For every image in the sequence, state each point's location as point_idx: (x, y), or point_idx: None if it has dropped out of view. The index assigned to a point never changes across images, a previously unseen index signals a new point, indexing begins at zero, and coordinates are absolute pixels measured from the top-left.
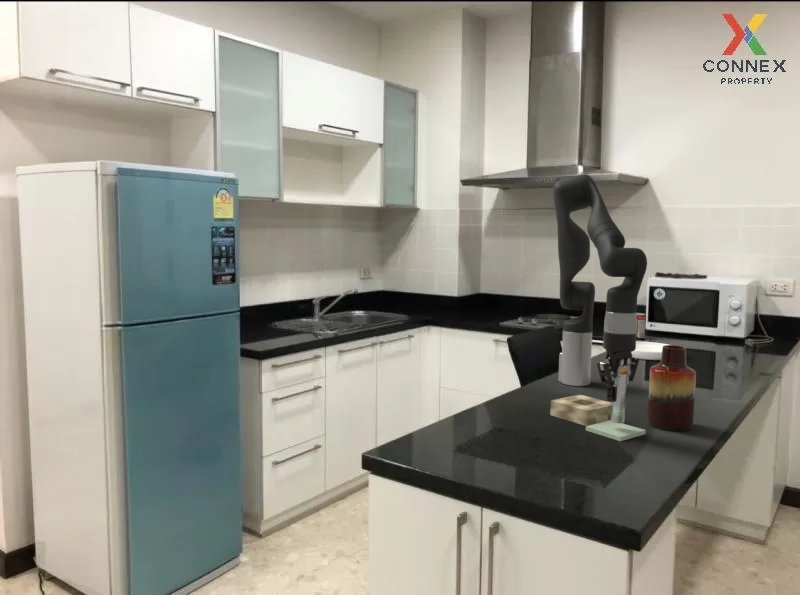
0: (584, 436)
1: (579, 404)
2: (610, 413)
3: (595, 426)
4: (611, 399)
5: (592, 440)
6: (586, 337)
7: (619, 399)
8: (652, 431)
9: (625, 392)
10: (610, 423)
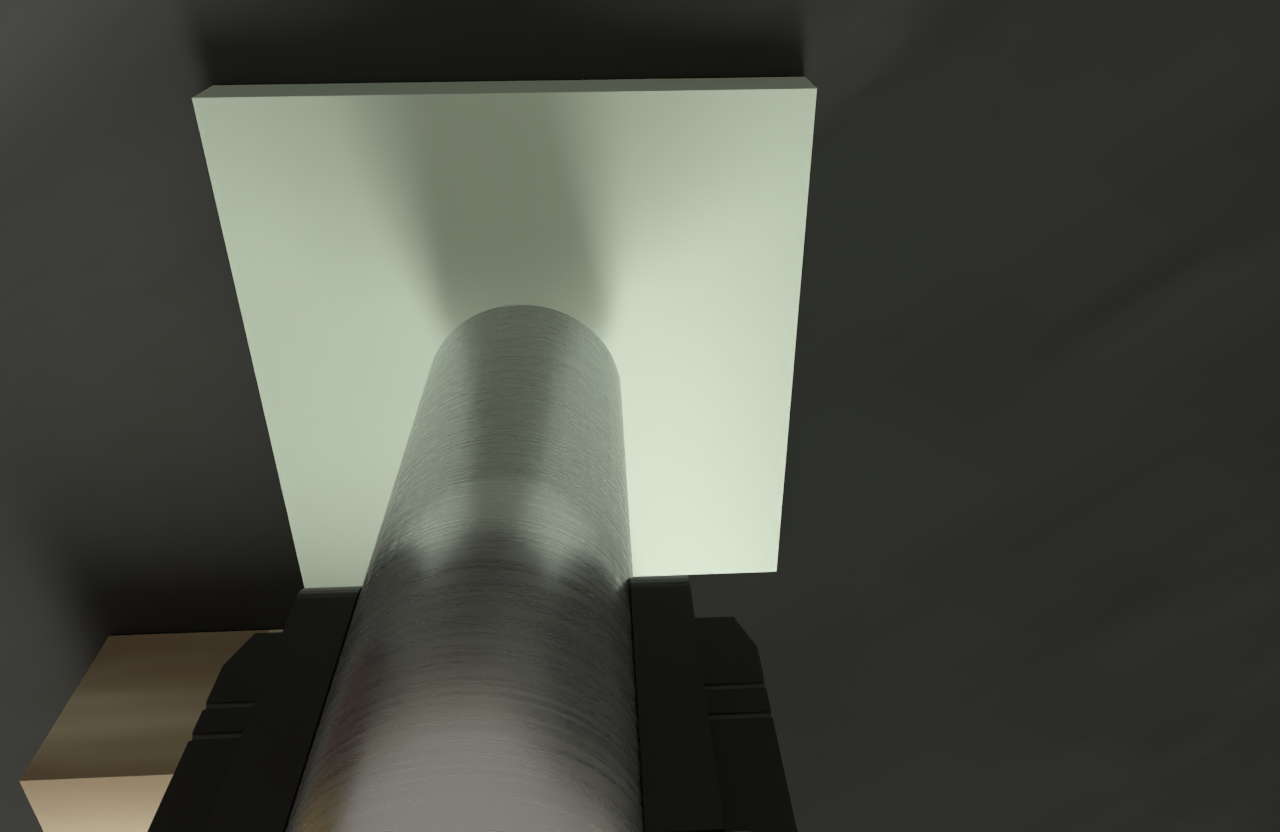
0: (970, 423)
1: None
2: (191, 693)
3: (682, 523)
4: (734, 631)
5: (1039, 289)
6: None
7: (596, 561)
8: (4, 112)
9: (430, 634)
10: None
